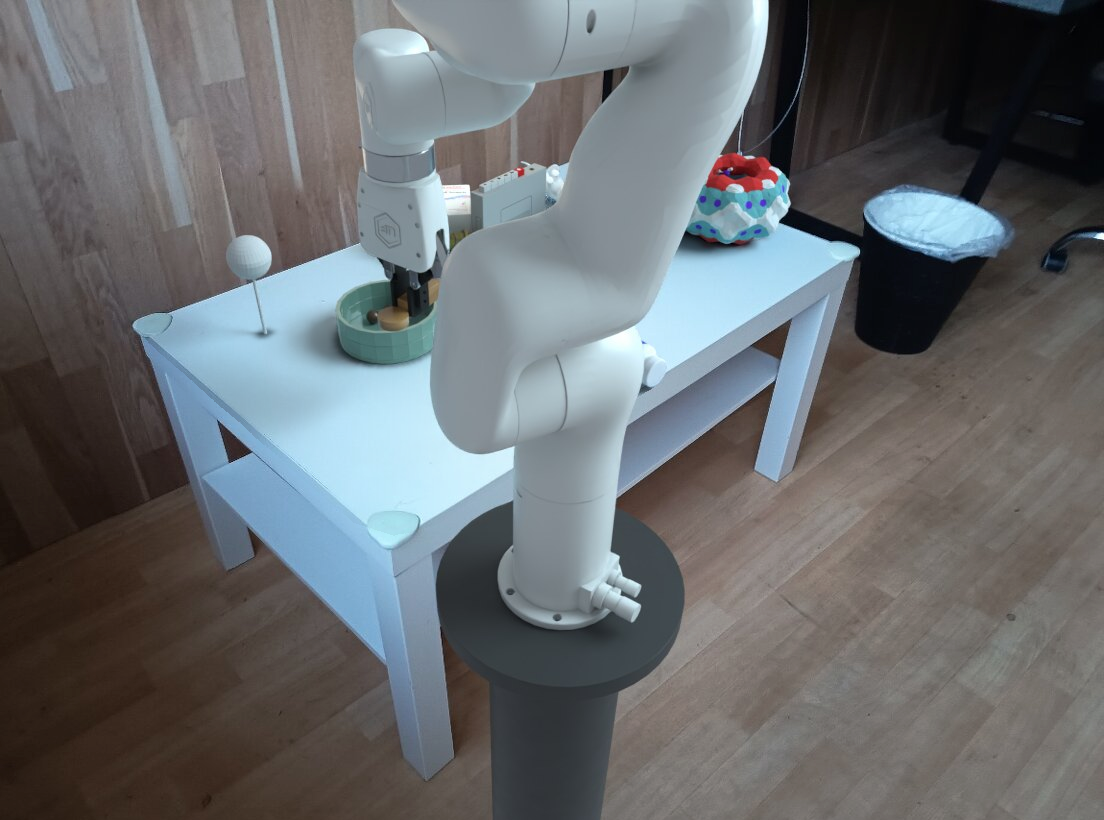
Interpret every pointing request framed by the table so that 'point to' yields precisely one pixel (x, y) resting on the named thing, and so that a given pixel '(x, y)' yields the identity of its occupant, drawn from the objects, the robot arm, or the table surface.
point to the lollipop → (249, 262)
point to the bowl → (373, 340)
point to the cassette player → (509, 197)
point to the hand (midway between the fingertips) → (411, 307)
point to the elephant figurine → (552, 181)
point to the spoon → (403, 310)
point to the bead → (372, 316)
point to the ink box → (458, 207)
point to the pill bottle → (652, 366)
